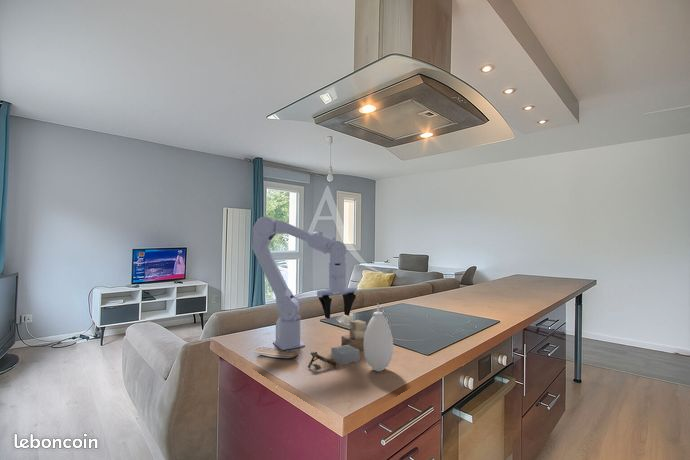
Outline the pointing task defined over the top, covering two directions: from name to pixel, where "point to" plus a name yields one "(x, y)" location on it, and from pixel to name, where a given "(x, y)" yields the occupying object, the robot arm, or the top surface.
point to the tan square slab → (352, 342)
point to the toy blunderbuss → (322, 360)
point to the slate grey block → (345, 354)
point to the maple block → (357, 329)
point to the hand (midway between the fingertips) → (337, 316)
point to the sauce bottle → (378, 342)
